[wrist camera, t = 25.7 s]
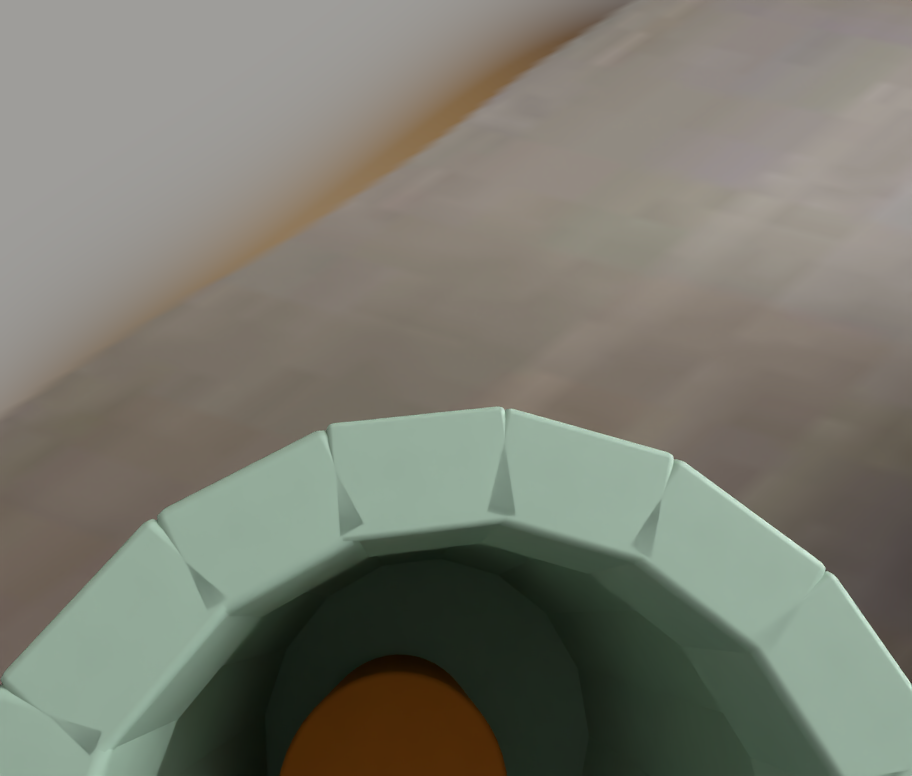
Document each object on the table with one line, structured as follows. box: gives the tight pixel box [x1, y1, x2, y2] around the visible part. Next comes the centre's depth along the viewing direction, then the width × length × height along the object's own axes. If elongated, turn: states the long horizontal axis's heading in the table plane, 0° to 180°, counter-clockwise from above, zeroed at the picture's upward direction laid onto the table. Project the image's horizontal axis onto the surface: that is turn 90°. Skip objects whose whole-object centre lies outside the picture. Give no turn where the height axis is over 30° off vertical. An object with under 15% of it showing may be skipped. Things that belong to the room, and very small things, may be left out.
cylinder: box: [279, 654, 507, 776], centre depth 11 cm, size 3×3×4 cm
